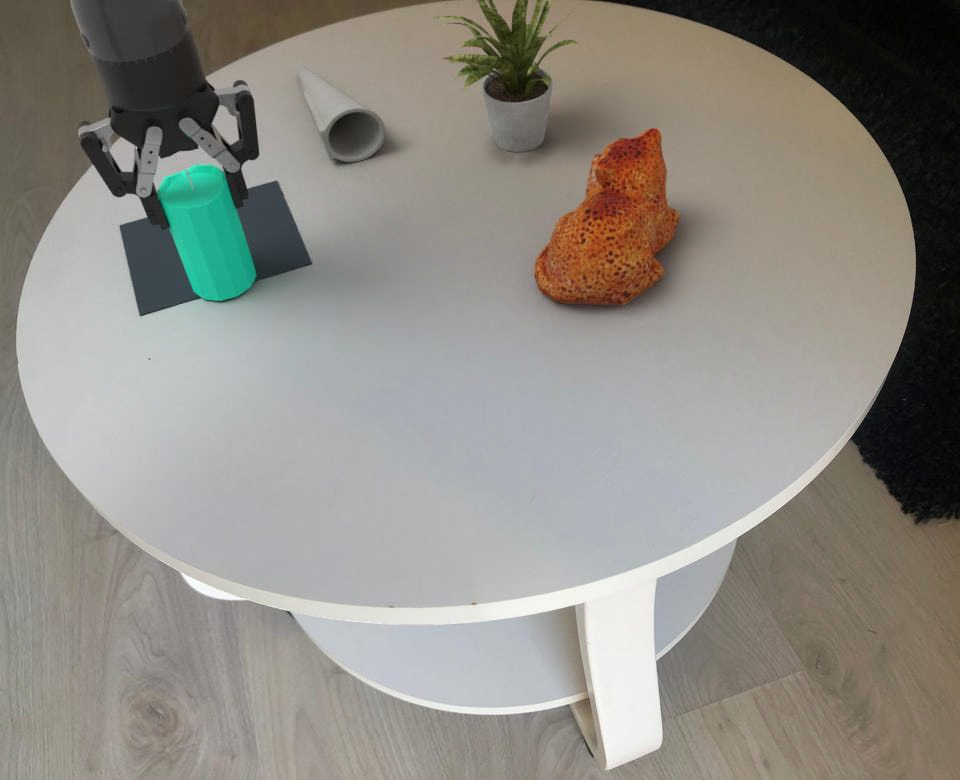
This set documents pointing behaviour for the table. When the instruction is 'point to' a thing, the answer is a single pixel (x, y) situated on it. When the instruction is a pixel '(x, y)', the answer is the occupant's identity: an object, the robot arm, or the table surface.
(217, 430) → the table surface
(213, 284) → the candle
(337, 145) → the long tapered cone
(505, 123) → the house plant
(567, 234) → the figurine
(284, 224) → the mat
